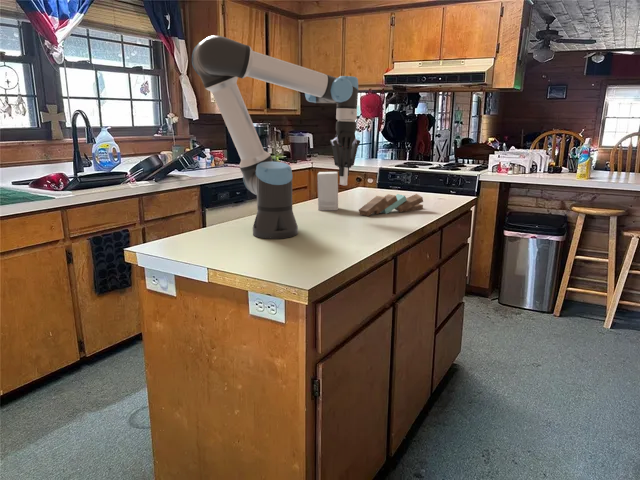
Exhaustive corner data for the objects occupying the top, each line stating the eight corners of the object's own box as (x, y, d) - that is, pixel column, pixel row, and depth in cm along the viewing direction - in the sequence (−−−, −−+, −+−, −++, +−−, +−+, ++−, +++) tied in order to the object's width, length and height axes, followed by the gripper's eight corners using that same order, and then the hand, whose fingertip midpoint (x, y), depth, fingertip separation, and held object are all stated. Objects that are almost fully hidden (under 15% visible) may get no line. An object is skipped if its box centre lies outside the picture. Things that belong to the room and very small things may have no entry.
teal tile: (384, 209, 192) (405, 195, 195) (377, 207, 196) (397, 194, 199) (386, 213, 193) (406, 200, 196) (379, 211, 197) (399, 198, 200)
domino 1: (366, 211, 186) (385, 196, 191) (358, 209, 190) (376, 195, 195) (368, 216, 187) (386, 201, 192) (360, 214, 191) (378, 200, 196)
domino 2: (375, 209, 190) (395, 195, 193) (368, 207, 194) (388, 194, 198) (377, 214, 191) (397, 200, 194) (370, 212, 195) (389, 198, 198)
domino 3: (398, 207, 194) (422, 197, 195) (393, 204, 198) (416, 193, 200) (400, 212, 195) (423, 201, 196) (394, 208, 199) (417, 198, 201)
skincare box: (338, 208, 204) (338, 171, 200) (337, 211, 198) (337, 173, 194) (318, 207, 205) (318, 171, 201) (317, 210, 199) (317, 173, 195)
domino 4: (404, 207, 197) (423, 204, 203) (396, 206, 201) (414, 203, 207) (404, 213, 197) (422, 209, 204) (395, 211, 201) (413, 208, 208)
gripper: (338, 120, 168) (336, 187, 174) (366, 121, 176) (362, 185, 182) (326, 120, 174) (323, 184, 180) (353, 121, 182) (350, 182, 188)
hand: (343, 184), depth 181 cm, fingers closed
